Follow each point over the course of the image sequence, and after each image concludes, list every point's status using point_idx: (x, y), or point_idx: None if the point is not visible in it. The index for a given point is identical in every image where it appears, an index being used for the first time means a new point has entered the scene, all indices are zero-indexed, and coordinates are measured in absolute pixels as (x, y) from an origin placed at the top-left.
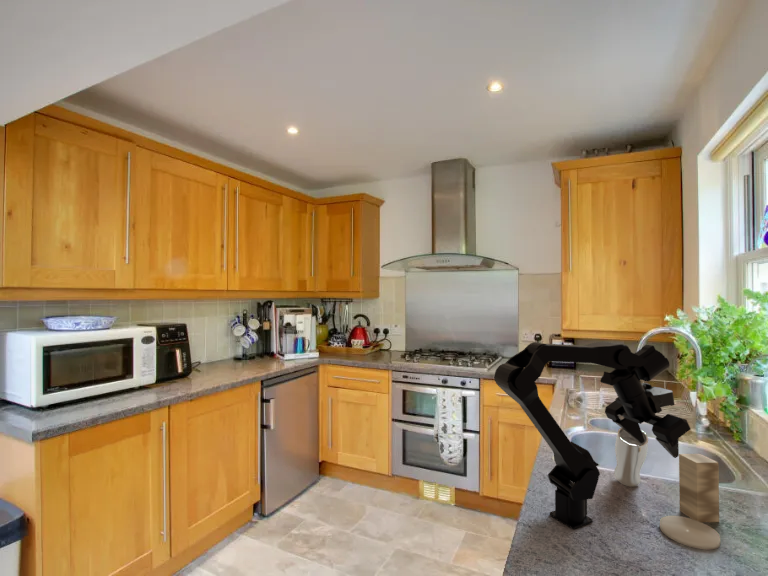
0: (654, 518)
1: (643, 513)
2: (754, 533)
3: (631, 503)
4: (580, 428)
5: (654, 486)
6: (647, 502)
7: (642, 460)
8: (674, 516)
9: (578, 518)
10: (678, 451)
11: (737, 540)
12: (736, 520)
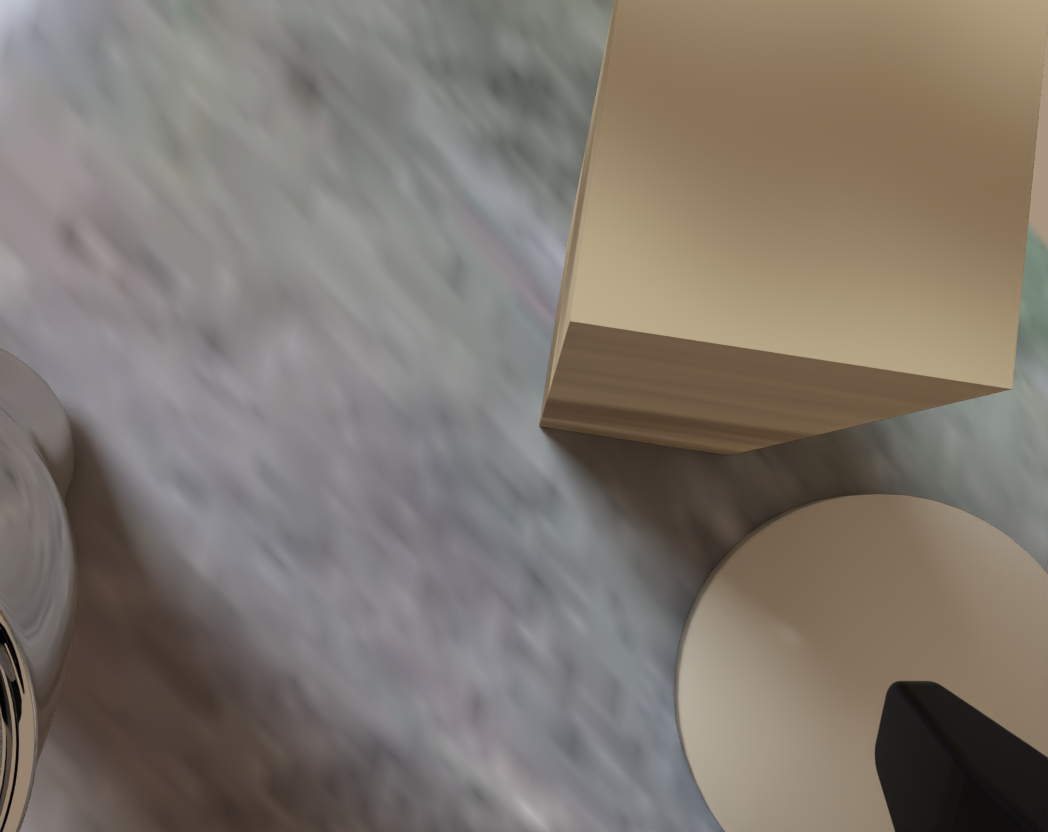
0: (608, 767)
1: (518, 797)
2: None
3: (343, 762)
4: None
5: (114, 261)
6: (360, 593)
7: (75, 551)
8: (700, 650)
9: None
10: (1037, 754)
11: None
12: None
